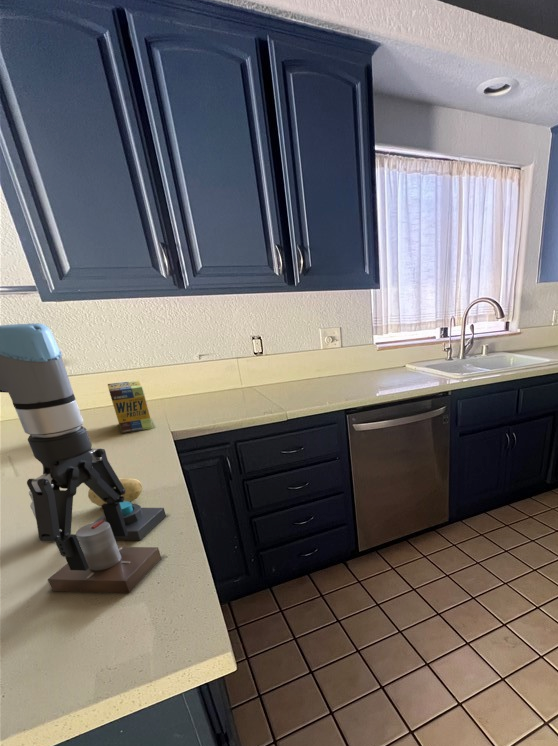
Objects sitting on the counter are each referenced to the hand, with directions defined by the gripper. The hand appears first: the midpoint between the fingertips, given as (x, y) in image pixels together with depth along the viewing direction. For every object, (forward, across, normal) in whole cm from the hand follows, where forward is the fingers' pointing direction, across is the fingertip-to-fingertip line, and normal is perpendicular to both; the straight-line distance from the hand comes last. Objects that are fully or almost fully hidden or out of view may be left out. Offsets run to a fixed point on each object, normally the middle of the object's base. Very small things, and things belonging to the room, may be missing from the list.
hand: (101, 551), depth 75 cm
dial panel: (+5, 0, 0) cm, 5 cm away
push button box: (+5, -16, -7) cm, 18 cm away
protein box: (+5, -88, -52) cm, 103 cm away
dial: (+2, 0, 0) cm, 2 cm away
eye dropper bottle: (+5, -12, -21) cm, 25 cm away
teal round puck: (+1, -16, -7) cm, 18 cm away
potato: (+5, -27, -16) cm, 32 cm away
